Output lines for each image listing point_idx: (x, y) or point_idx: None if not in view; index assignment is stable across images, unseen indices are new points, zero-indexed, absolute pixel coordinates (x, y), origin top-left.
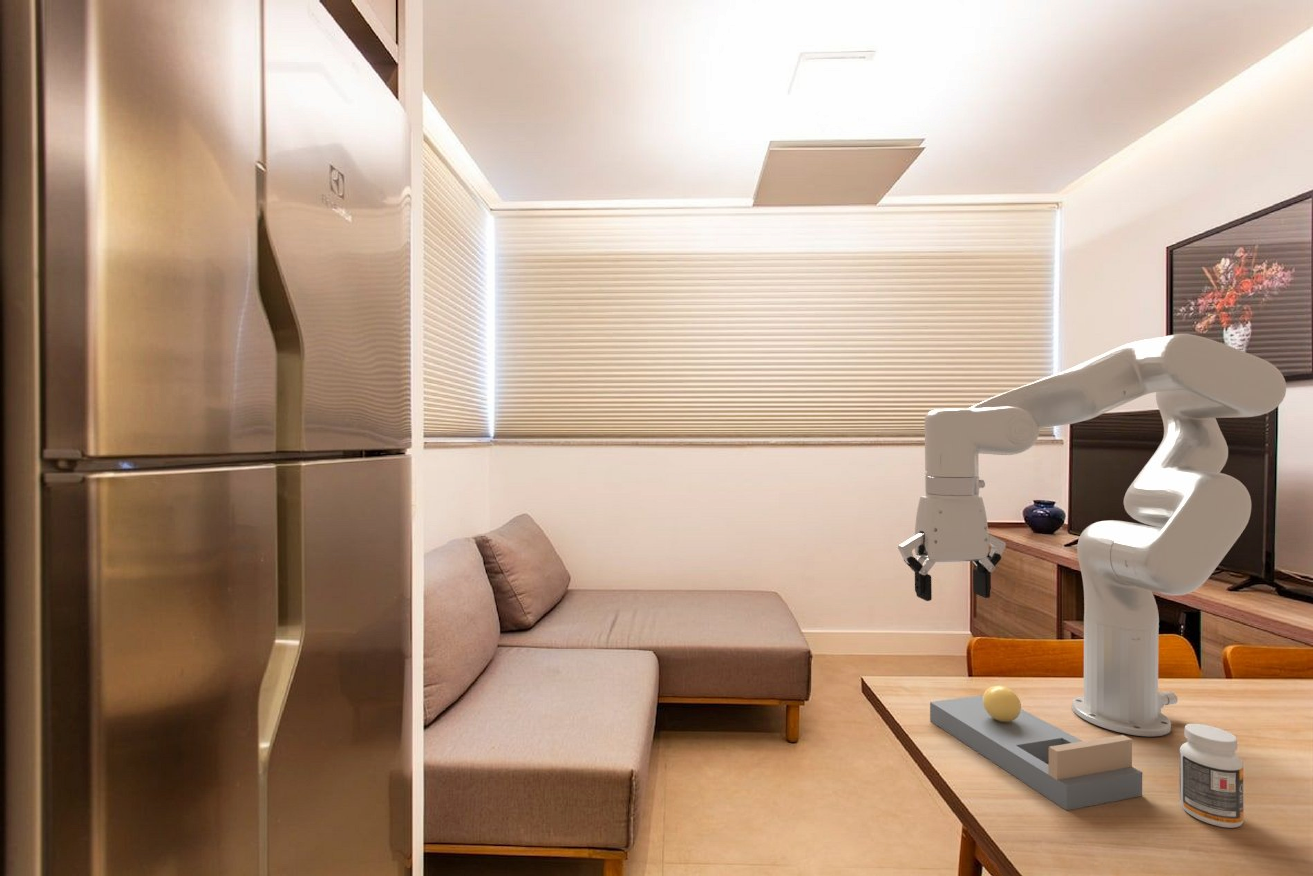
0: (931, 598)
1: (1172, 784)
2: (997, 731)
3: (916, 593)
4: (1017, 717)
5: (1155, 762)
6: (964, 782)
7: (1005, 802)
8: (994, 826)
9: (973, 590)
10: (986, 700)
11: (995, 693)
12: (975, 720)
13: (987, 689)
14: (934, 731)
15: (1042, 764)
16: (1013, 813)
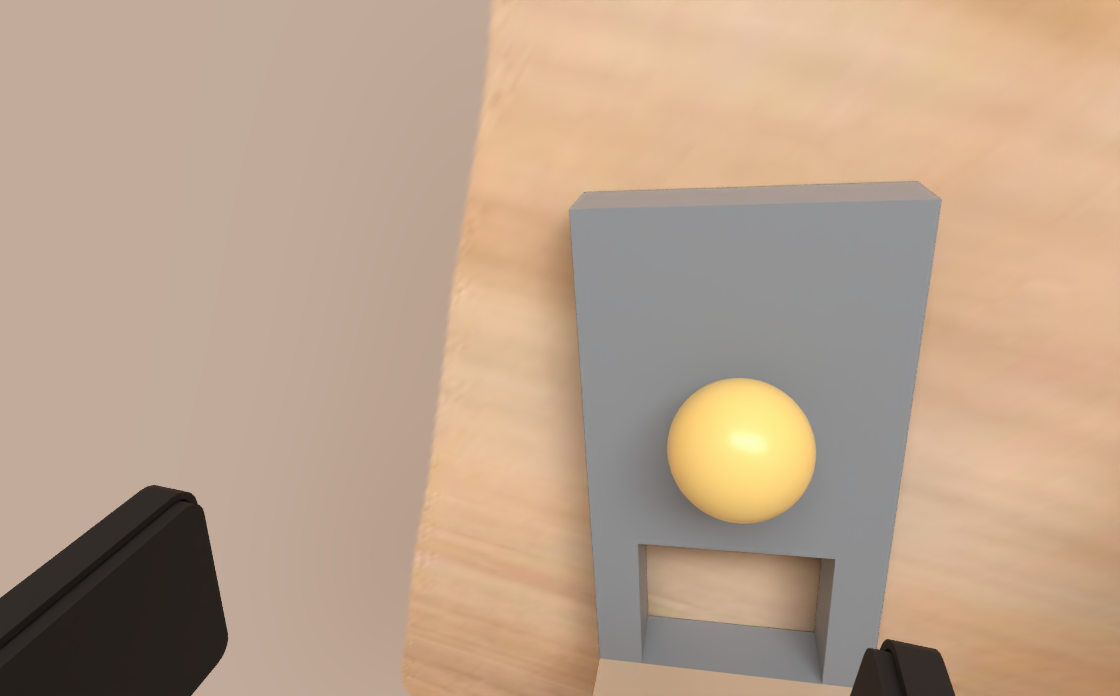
0: (216, 663)
1: (1005, 674)
2: (650, 470)
3: (137, 497)
4: (823, 414)
5: (1115, 605)
6: (458, 509)
7: (500, 588)
8: (422, 628)
9: (875, 664)
10: (668, 446)
11: (691, 490)
12: (636, 390)
13: (704, 435)
14: (549, 266)
15: (626, 627)
16: (489, 616)
